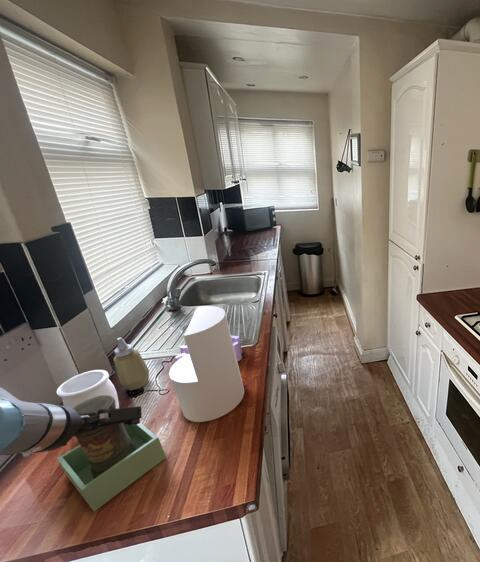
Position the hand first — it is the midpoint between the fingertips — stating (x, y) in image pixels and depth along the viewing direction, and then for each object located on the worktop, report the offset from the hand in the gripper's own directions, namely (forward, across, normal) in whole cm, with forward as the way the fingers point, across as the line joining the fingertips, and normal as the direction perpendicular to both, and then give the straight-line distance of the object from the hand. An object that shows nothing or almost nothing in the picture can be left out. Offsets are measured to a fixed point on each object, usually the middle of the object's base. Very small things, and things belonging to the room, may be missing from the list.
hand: (102, 428), depth 71 cm
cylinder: (+18, +21, +1) cm, 27 cm away
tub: (+7, 0, -9) cm, 12 cm away
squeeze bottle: (+32, -3, +15) cm, 35 cm away
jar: (+21, -8, +4) cm, 22 cm away
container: (+7, 0, -9) cm, 11 cm away
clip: (+33, +20, +17) cm, 42 cm away
